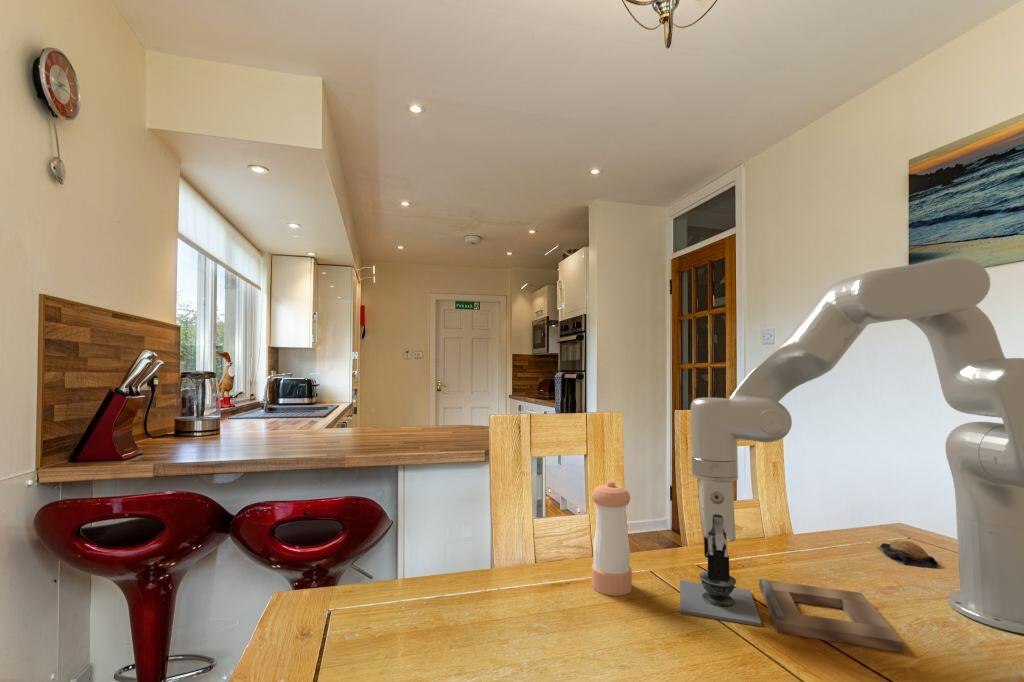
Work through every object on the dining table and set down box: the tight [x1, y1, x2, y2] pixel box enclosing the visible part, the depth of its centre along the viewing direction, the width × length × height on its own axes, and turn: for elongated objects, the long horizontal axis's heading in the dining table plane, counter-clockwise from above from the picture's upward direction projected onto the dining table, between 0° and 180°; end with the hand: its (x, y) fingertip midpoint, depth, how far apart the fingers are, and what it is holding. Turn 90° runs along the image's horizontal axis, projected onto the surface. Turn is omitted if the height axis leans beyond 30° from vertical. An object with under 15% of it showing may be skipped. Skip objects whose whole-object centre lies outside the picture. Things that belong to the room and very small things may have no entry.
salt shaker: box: [699, 534, 737, 607], centre depth 82 cm, size 6×6×12 cm
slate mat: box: [679, 579, 763, 627], centre depth 82 cm, size 12×12×1 cm
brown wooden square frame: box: [758, 578, 904, 653], centre depth 78 cm, size 16×16×2 cm
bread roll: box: [875, 540, 941, 569], centre depth 103 cm, size 11×8×4 cm
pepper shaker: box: [591, 480, 633, 596], centre depth 88 cm, size 7×7×19 cm
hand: (716, 568), depth 82 cm, fingers open, 9 cm apart
